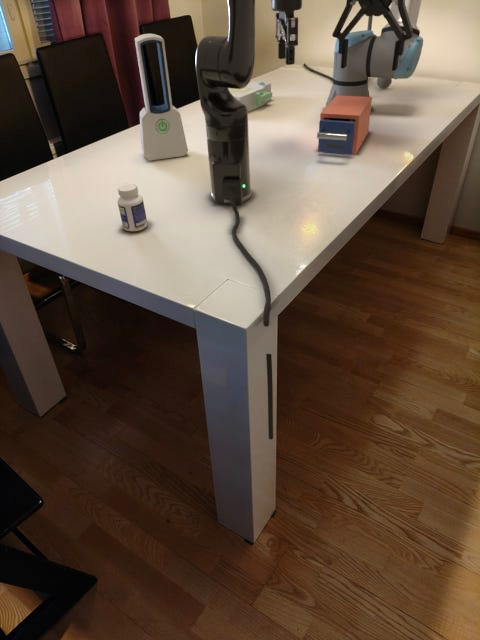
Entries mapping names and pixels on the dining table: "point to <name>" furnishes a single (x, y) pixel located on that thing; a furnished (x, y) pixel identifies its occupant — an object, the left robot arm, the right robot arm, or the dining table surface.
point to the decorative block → (253, 94)
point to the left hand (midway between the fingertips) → (286, 61)
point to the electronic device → (159, 110)
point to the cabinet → (351, 115)
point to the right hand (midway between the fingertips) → (368, 68)
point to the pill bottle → (131, 208)
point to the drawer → (336, 135)
